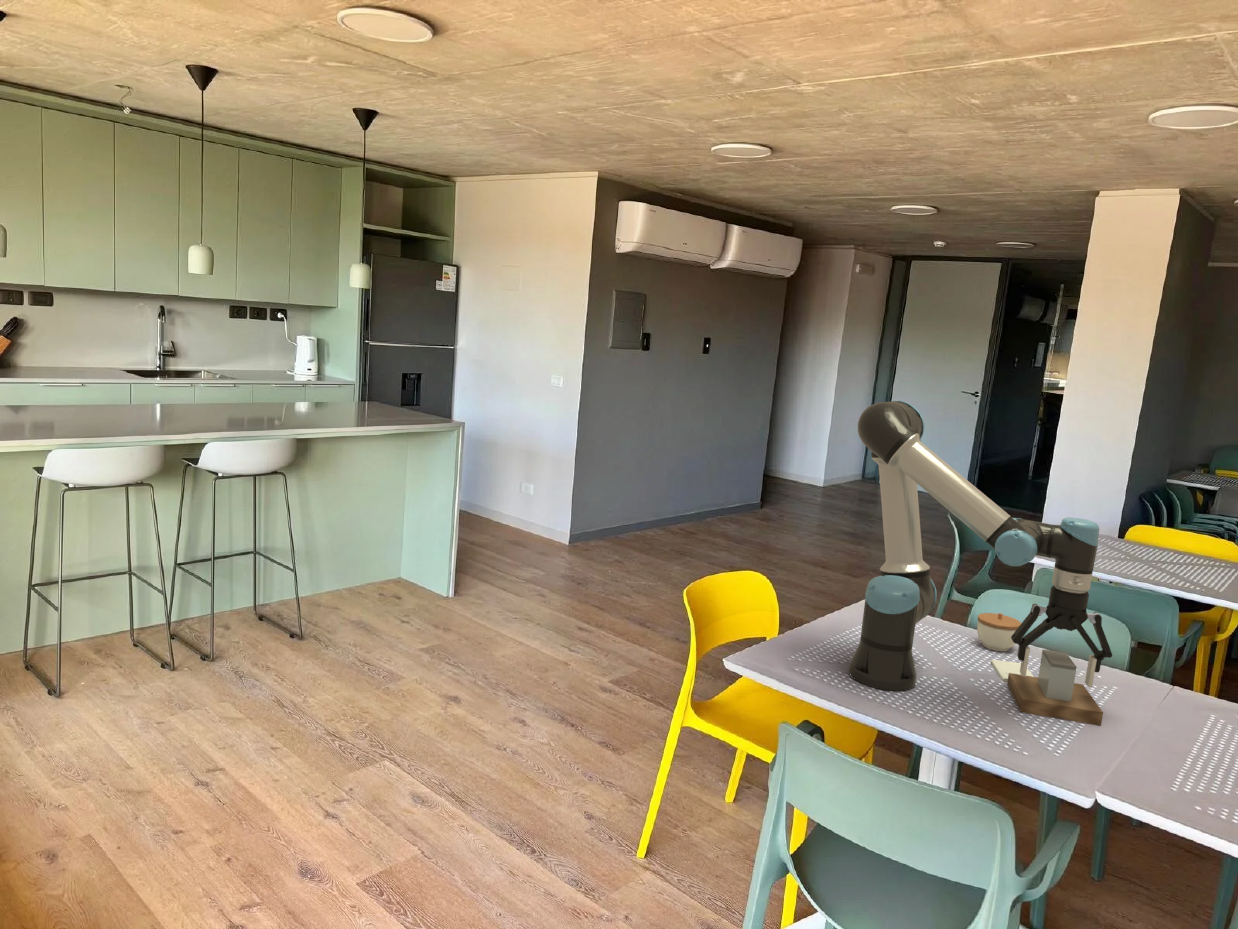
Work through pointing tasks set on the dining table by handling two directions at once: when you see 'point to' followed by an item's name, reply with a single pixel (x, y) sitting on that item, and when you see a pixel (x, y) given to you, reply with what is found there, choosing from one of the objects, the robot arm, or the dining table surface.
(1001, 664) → the external hard drive
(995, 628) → the lidded jar
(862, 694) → the dining table surface
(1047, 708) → the walnut stand
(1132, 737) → the dining table surface
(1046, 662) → the block
